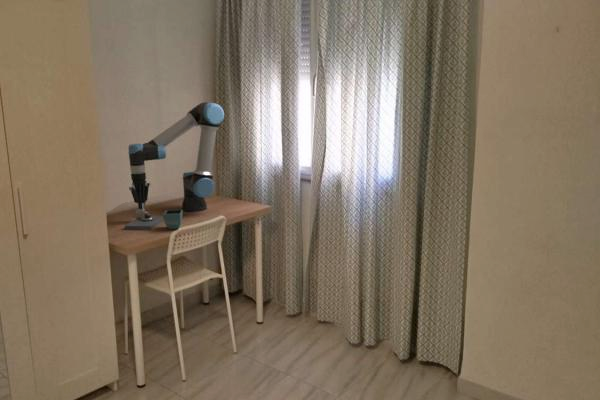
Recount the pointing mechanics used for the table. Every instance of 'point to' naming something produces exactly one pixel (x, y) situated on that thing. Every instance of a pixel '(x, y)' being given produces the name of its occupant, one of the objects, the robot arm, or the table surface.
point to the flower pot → (173, 218)
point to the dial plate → (143, 223)
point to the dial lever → (143, 215)
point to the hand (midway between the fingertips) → (142, 214)
